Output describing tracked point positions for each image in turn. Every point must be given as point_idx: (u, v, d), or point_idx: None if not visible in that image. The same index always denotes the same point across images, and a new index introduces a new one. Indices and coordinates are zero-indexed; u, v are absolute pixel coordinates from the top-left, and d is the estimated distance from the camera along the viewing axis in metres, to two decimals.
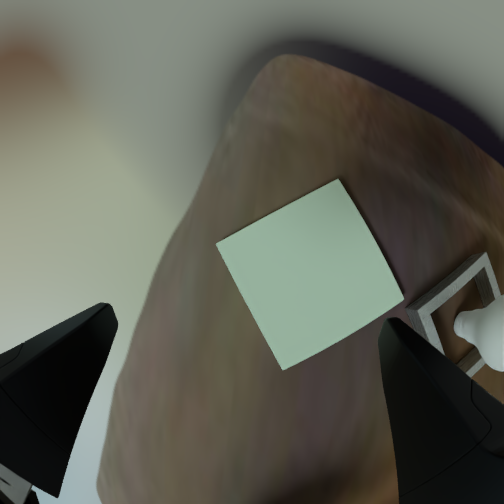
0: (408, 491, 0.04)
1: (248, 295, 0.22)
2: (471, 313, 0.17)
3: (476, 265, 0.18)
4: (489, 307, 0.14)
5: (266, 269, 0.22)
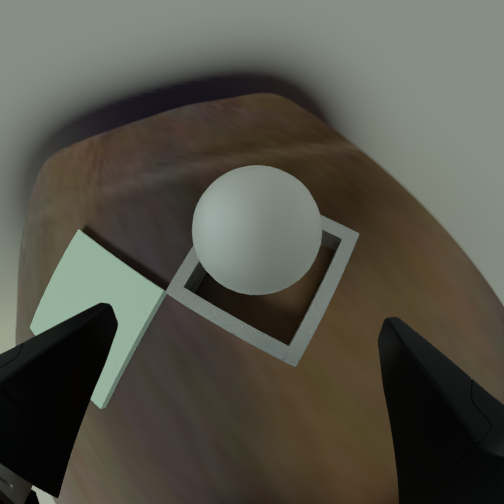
0: (408, 491, 0.04)
1: None
2: None
3: None
4: None
5: None
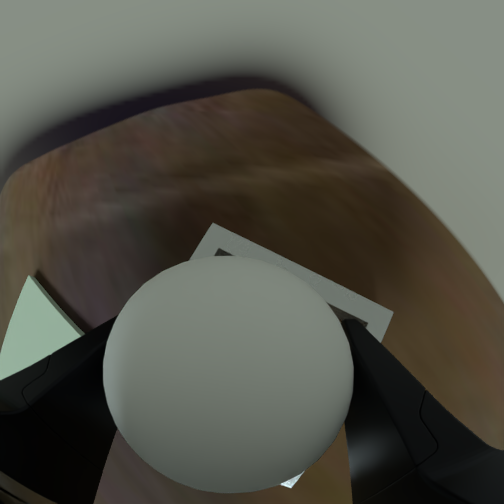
0: (359, 502, 0.04)
1: None
2: None
3: None
4: None
5: None
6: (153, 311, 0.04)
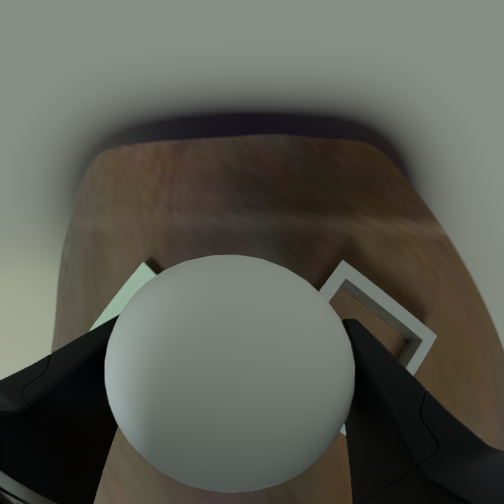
0: (359, 502, 0.04)
1: None
2: None
3: (330, 283, 0.19)
4: None
5: None
6: (155, 310, 0.04)
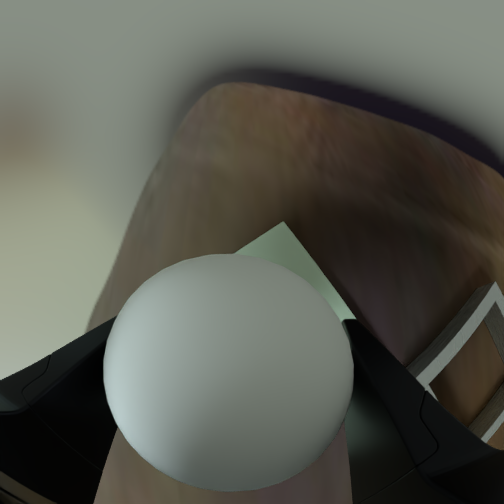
0: (360, 502, 0.04)
1: None
2: None
3: (485, 302, 0.13)
4: None
5: None
6: (153, 309, 0.04)
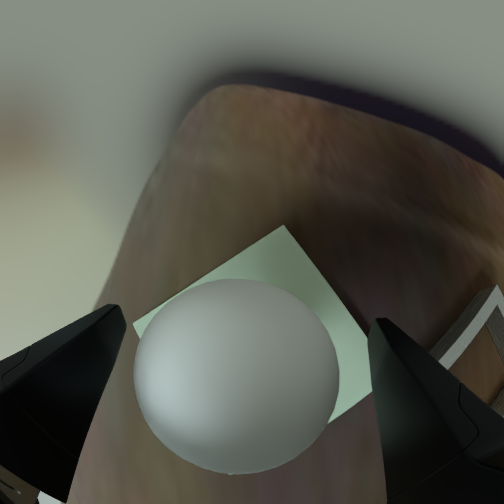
0: (396, 494, 0.04)
1: None
2: None
3: (487, 306, 0.13)
4: None
5: None
6: (181, 329, 0.06)
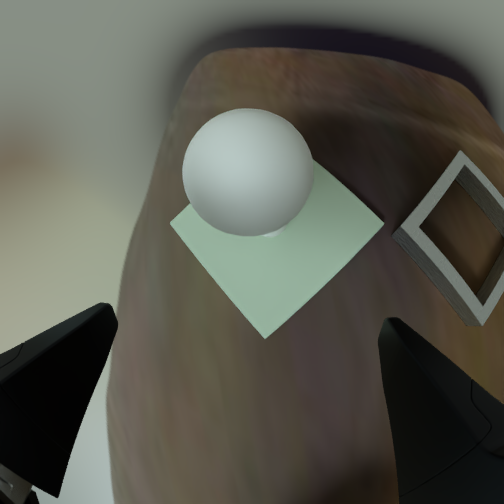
0: (408, 491, 0.04)
1: (208, 263, 0.20)
2: None
3: (454, 165, 0.16)
4: None
5: (221, 232, 0.21)
6: (211, 121, 0.10)
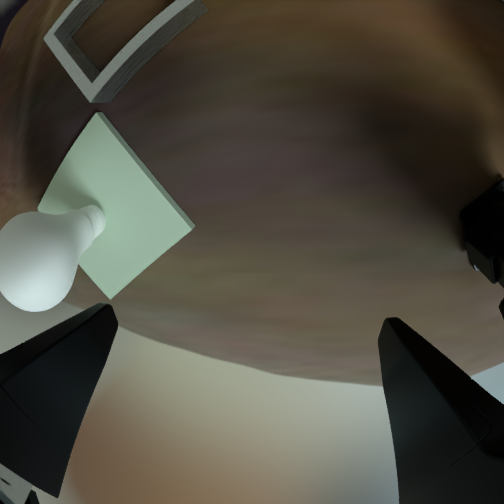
0: (408, 491, 0.04)
1: (133, 271, 0.21)
2: None
3: (52, 45, 0.11)
4: None
5: (110, 258, 0.21)
6: None
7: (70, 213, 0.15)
